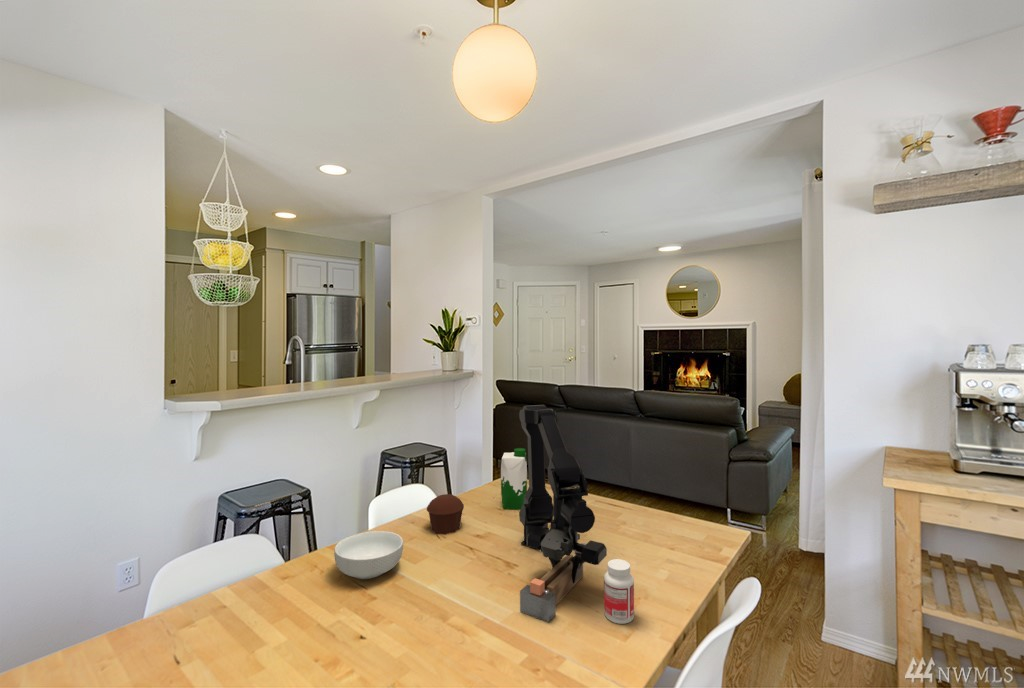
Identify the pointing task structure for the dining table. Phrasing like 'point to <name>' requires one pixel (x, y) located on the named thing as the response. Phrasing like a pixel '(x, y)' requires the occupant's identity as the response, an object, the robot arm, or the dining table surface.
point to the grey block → (537, 604)
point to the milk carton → (514, 479)
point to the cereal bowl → (368, 553)
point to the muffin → (445, 514)
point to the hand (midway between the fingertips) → (565, 580)
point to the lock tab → (537, 587)
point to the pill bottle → (619, 592)
